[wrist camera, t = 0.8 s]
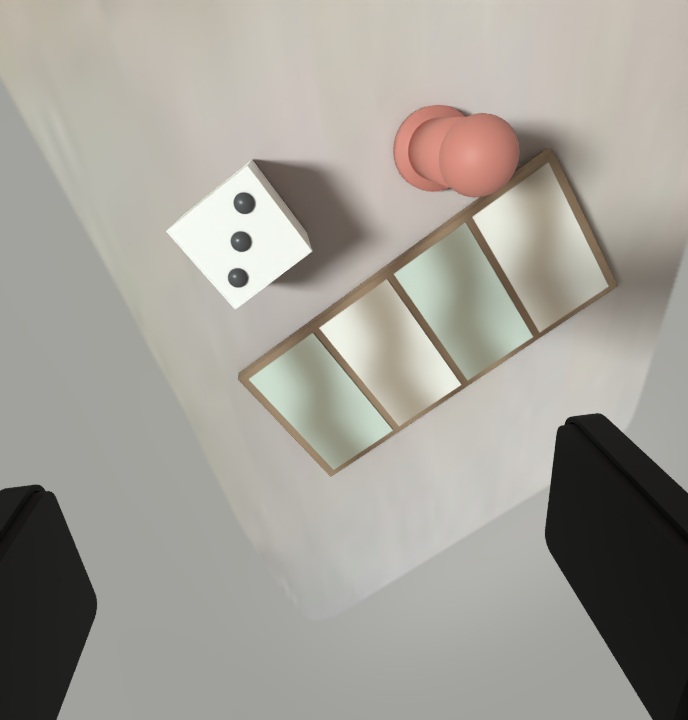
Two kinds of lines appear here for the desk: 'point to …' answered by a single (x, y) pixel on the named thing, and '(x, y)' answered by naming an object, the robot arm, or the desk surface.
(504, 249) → the board
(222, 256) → the die
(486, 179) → the pawn
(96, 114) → the desk surface
